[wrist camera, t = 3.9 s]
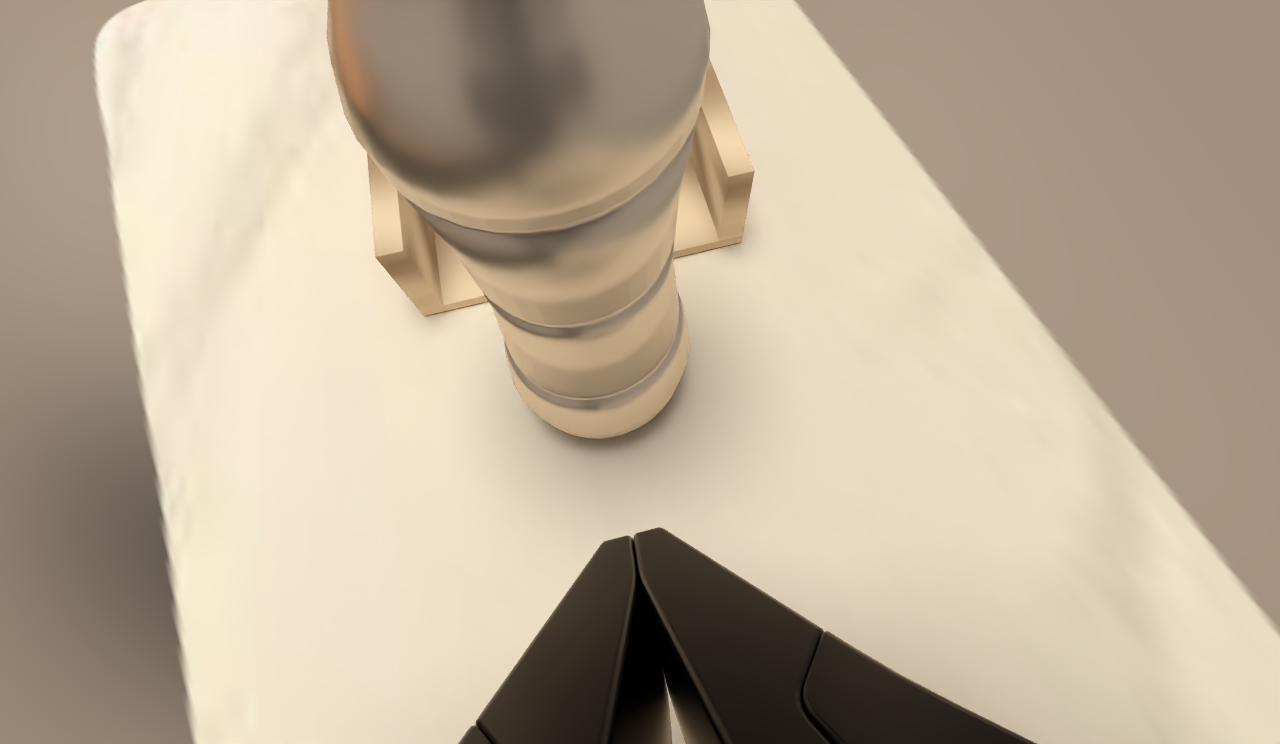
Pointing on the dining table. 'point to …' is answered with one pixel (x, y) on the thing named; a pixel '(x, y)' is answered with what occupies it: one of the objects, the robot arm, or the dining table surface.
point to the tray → (702, 222)
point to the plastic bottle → (544, 175)
